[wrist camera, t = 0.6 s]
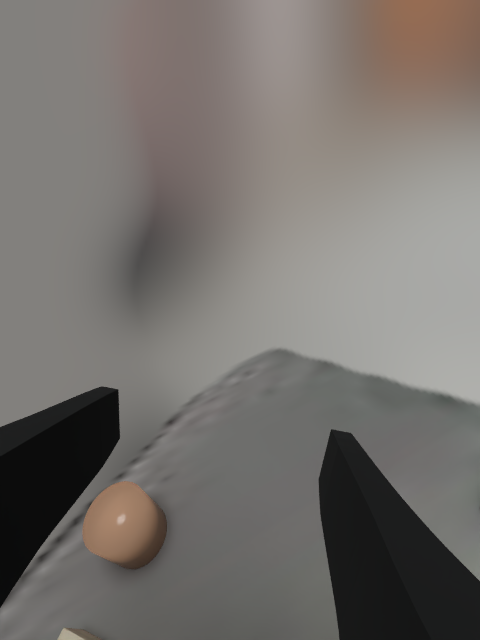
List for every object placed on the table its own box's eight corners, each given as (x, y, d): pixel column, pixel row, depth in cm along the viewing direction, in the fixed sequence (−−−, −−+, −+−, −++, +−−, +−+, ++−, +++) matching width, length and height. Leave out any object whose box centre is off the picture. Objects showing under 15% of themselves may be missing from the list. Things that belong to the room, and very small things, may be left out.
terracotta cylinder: (149, 578, 22) (121, 565, 19) (101, 557, 23) (68, 542, 20) (176, 511, 25) (156, 490, 22) (132, 496, 26) (108, 474, 23)
